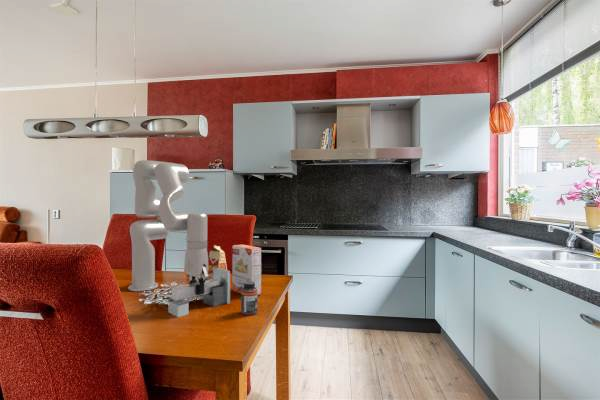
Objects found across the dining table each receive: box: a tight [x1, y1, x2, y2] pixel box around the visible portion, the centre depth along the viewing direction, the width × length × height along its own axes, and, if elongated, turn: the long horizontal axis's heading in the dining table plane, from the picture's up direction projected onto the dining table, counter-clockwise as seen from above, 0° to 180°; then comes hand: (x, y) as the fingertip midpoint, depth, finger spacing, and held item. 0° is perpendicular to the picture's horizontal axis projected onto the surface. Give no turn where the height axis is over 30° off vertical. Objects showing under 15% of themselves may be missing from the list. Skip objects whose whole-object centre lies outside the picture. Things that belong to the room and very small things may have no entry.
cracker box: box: [231, 243, 262, 296], centre depth 140 cm, size 14×6×21 cm, turn 47°
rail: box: [171, 279, 220, 301], centre depth 120 cm, size 4×18×4 cm, turn 139°
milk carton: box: [206, 244, 228, 280], centre depth 151 cm, size 9×9×20 cm
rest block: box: [167, 297, 190, 318], centre depth 114 cm, size 7×4×5 cm, turn 49°
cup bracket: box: [202, 267, 231, 308], centre depth 126 cm, size 10×7×13 cm
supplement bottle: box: [240, 281, 259, 316], centre depth 115 cm, size 6×6×11 cm
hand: (196, 292), depth 120 cm, fingers closed on rail, 4 cm apart
